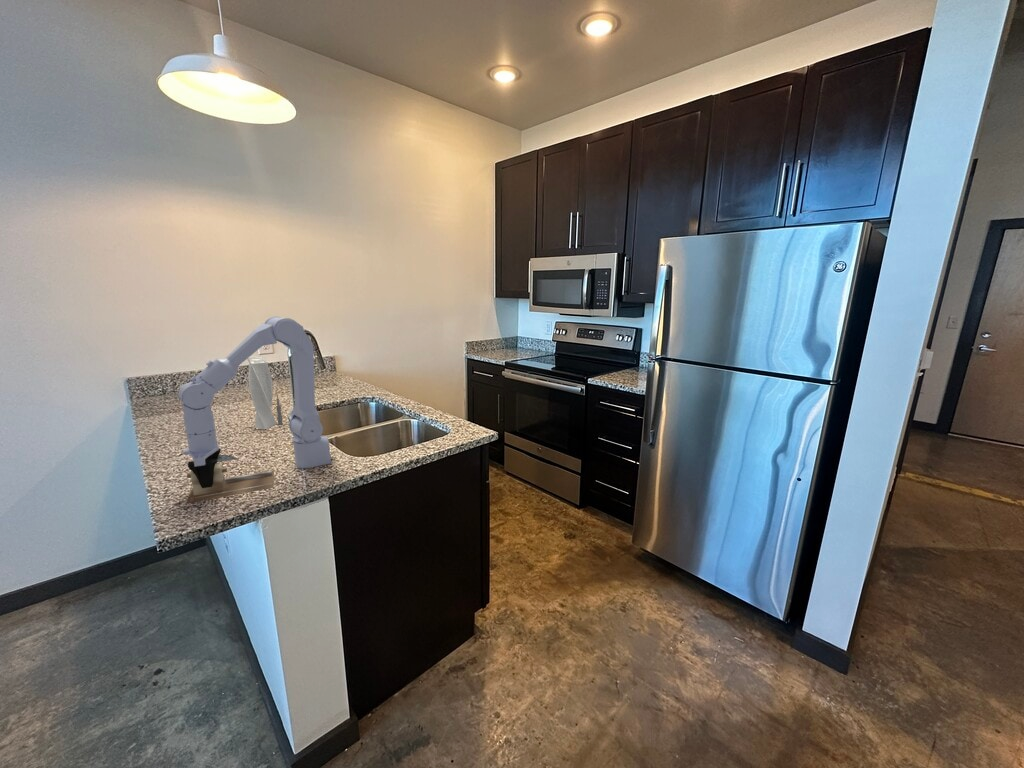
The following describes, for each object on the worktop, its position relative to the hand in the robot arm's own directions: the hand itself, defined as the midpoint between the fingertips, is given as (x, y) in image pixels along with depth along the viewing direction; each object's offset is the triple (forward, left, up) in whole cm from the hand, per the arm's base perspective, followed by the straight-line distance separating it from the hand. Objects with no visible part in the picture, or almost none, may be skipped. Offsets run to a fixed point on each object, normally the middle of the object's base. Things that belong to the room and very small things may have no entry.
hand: (209, 482), depth 103 cm
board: (-5, 0, -3) cm, 6 cm away
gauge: (0, 0, -2) cm, 2 cm away
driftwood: (-1, -23, -4) cm, 23 cm away
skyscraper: (-11, -55, -4) cm, 56 cm away
